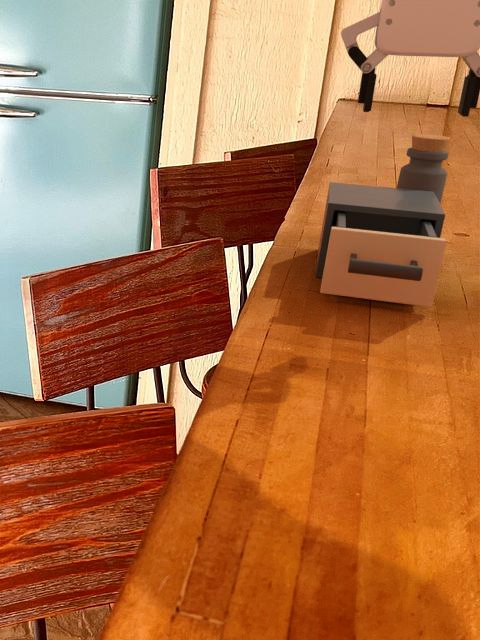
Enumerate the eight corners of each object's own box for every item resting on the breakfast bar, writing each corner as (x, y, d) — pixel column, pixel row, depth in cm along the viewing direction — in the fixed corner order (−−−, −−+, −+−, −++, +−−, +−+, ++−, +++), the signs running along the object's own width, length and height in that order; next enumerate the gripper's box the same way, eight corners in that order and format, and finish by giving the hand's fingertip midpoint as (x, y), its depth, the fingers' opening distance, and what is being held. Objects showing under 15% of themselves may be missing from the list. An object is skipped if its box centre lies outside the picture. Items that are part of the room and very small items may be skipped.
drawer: (435, 321, 90) (452, 252, 88) (318, 306, 94) (331, 238, 91) (421, 274, 107) (434, 215, 104) (322, 263, 110) (332, 204, 107)
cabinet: (428, 291, 103) (445, 214, 100) (315, 277, 107) (328, 202, 104) (418, 260, 116) (433, 191, 113) (318, 249, 120) (329, 182, 117)
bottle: (434, 245, 124) (458, 136, 118) (426, 254, 120) (451, 140, 114) (390, 238, 127) (412, 131, 121) (381, 246, 123) (403, 136, 117)
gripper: (534, -60, 90) (497, 113, 97) (353, -58, 95) (329, 106, 102) (550, -66, 84) (509, 121, 90) (355, -63, 89) (329, 112, 95)
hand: (414, 113), depth 96 cm, fingers open, 9 cm apart
